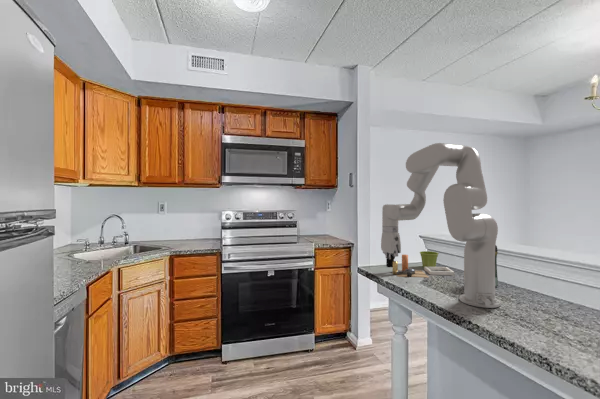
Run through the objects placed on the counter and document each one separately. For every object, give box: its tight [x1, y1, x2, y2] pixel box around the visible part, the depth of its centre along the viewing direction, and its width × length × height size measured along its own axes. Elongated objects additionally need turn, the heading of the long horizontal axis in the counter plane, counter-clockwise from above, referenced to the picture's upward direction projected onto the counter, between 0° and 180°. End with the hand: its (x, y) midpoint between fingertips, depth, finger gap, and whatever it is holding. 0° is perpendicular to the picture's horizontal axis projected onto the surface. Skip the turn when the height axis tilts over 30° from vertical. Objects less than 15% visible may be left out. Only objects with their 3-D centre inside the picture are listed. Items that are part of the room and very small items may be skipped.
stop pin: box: [401, 254, 409, 270], centre depth 152 cm, size 3×3×8 cm
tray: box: [423, 266, 456, 278], centre depth 149 cm, size 11×11×2 cm
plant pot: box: [419, 250, 439, 268], centre depth 161 cm, size 9×9×9 cm
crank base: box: [395, 269, 430, 279], centre depth 147 cm, size 14×14×3 cm
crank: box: [392, 260, 416, 275], centre depth 146 cm, size 11×4×6 cm, turn 102°
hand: (390, 266), depth 148 cm, fingers closed
